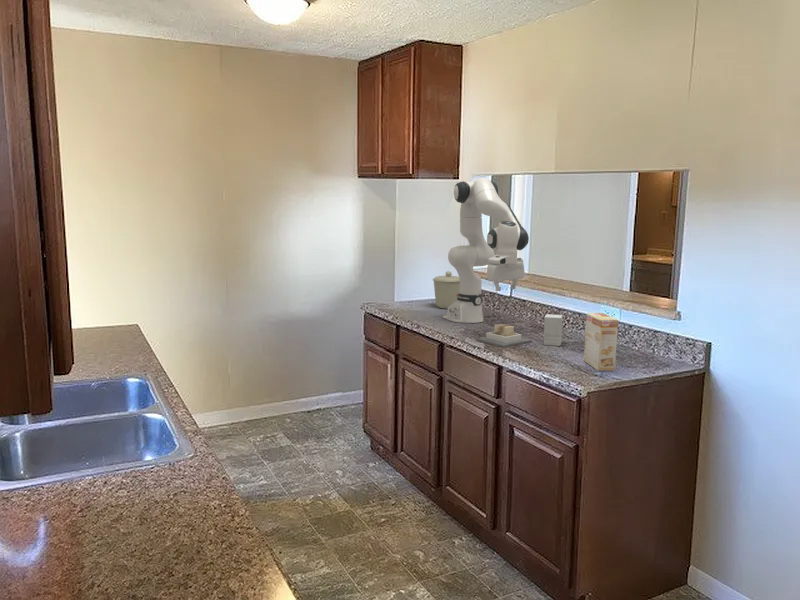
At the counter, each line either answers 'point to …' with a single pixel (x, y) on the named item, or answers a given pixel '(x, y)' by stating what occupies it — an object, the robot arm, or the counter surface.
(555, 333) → the supplement box
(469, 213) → the robot arm
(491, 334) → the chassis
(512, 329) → the tan cardboard carton
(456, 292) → the canister
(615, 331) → the coffeecake box
